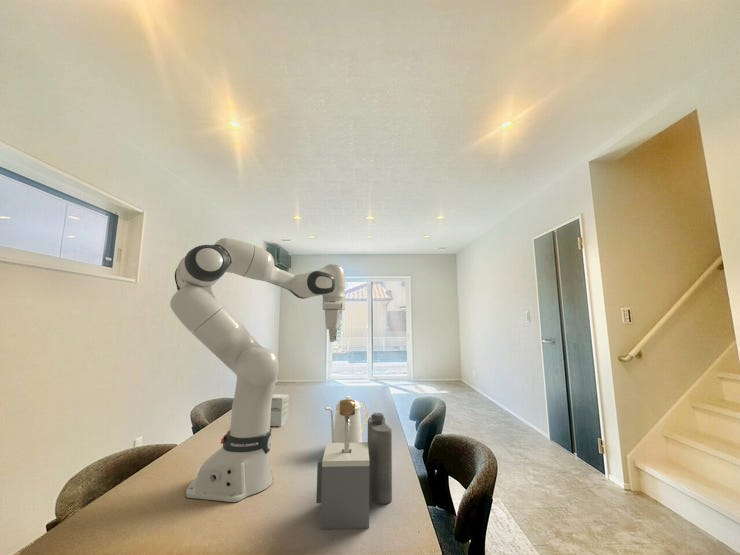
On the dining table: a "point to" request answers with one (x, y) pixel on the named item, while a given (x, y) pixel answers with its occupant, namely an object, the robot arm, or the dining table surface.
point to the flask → (380, 459)
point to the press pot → (344, 486)
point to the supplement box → (279, 410)
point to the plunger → (347, 419)
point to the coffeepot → (354, 423)
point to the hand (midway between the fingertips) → (333, 341)
